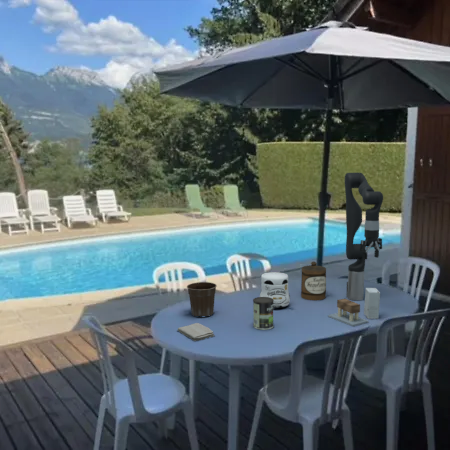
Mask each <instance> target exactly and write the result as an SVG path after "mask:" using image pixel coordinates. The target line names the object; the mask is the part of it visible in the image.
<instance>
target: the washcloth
mask: <svg viewBox="0 0 450 450" xmlns="http://www.w3.org/2000/svg"><path fill="white" fill-rule="evenodd" d="M178 331H179V332H178ZM177 332H178V333H180V334H182V335H183V336H185V337H187V338H189V339H191V340H192V341H194V342H197V341H203V340H206V339H205V338H207V339H210V338H209V337H211V338H214V337H215V334H214V331H213V330H212V329H210V327H207V326H205V324H204V325H203V324H201V323H199V322H195V323H191V324H189V325H184V326H180V327H178V328H177ZM213 336H214V337H213Z"/></svg>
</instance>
